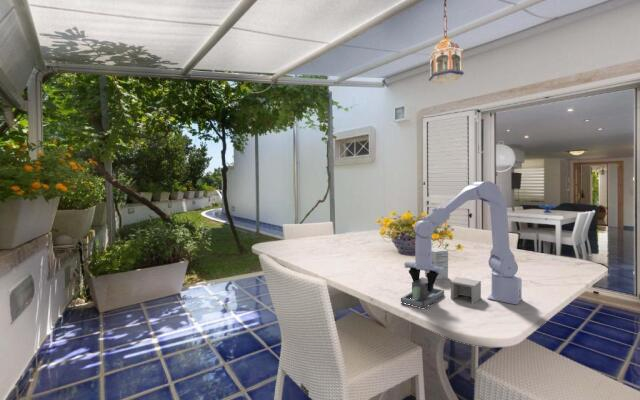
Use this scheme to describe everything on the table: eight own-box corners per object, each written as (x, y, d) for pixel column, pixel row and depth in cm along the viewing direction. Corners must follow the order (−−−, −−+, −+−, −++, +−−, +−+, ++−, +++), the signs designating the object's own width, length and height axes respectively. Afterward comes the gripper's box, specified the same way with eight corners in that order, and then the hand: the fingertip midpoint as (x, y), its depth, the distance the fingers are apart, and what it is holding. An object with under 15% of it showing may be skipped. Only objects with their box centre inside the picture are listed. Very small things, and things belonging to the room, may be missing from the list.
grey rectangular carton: (421, 300, 116) (420, 286, 116) (408, 297, 119) (408, 284, 119) (433, 292, 124) (433, 279, 123) (421, 290, 127) (421, 277, 127)
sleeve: (474, 303, 118) (474, 285, 117) (450, 298, 123) (450, 281, 123) (480, 297, 123) (480, 281, 122) (457, 293, 128) (457, 277, 128)
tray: (444, 295, 126) (444, 290, 126) (423, 309, 113) (423, 303, 113) (422, 290, 132) (422, 285, 132) (400, 303, 119) (400, 297, 119)
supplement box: (424, 275, 153) (424, 248, 152) (437, 273, 155) (437, 247, 155) (435, 280, 146) (435, 251, 145) (448, 278, 148) (448, 250, 148)
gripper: (400, 252, 124) (400, 288, 125) (438, 258, 114) (438, 296, 115) (409, 249, 129) (409, 283, 130) (446, 254, 119) (446, 291, 120)
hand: (423, 289), depth 123 cm, fingers closed on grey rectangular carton, 5 cm apart
